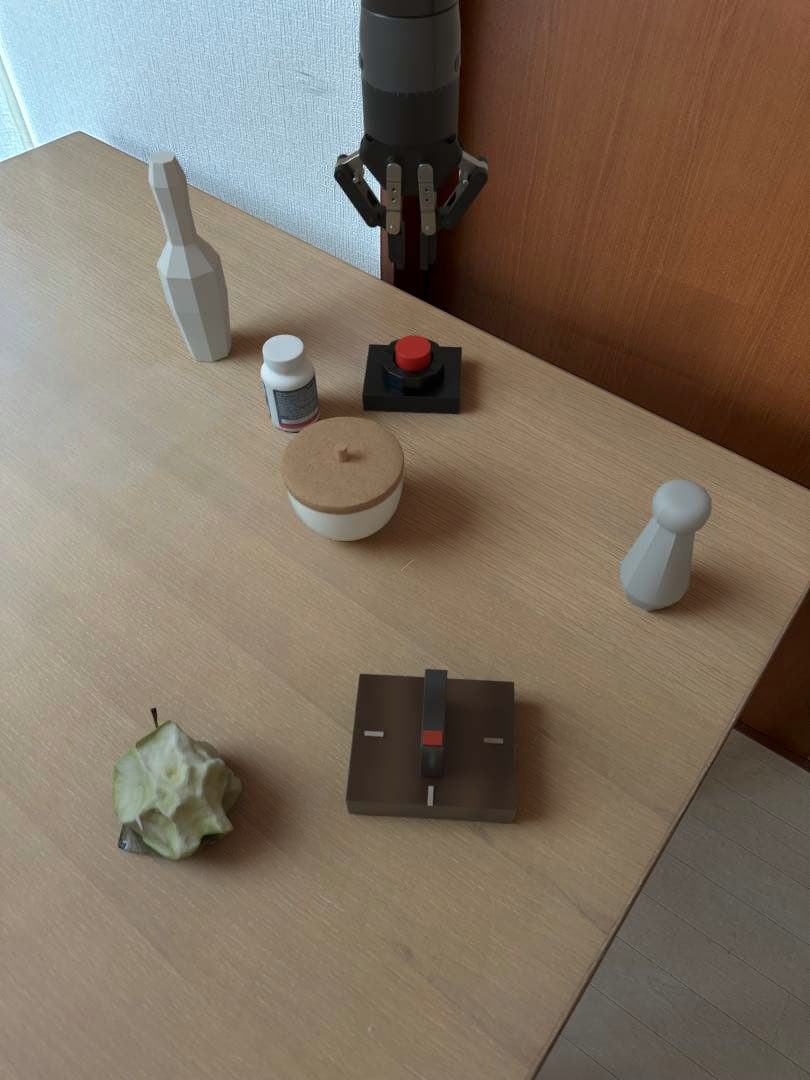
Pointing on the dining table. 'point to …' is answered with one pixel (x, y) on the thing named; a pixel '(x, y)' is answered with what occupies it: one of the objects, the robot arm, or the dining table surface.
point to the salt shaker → (665, 546)
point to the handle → (433, 723)
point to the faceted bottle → (189, 266)
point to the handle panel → (469, 751)
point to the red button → (413, 353)
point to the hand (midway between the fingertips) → (412, 263)
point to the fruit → (172, 794)
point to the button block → (412, 381)
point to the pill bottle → (289, 384)
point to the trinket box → (344, 477)
